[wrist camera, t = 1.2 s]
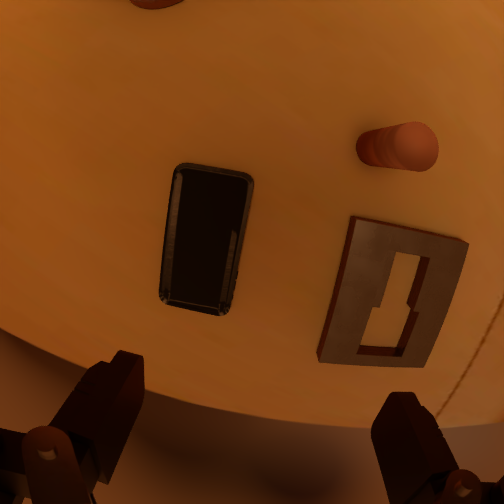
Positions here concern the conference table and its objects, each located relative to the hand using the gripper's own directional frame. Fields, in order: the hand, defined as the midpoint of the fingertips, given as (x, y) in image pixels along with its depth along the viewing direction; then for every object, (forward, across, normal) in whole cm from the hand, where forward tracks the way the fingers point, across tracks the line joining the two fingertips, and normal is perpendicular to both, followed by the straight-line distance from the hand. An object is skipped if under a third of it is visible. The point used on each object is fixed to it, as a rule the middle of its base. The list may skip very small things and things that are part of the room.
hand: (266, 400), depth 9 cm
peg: (+23, -9, -10) cm, 27 cm away
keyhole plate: (+23, -15, +5) cm, 28 cm away
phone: (+24, +6, +2) cm, 24 cm away
